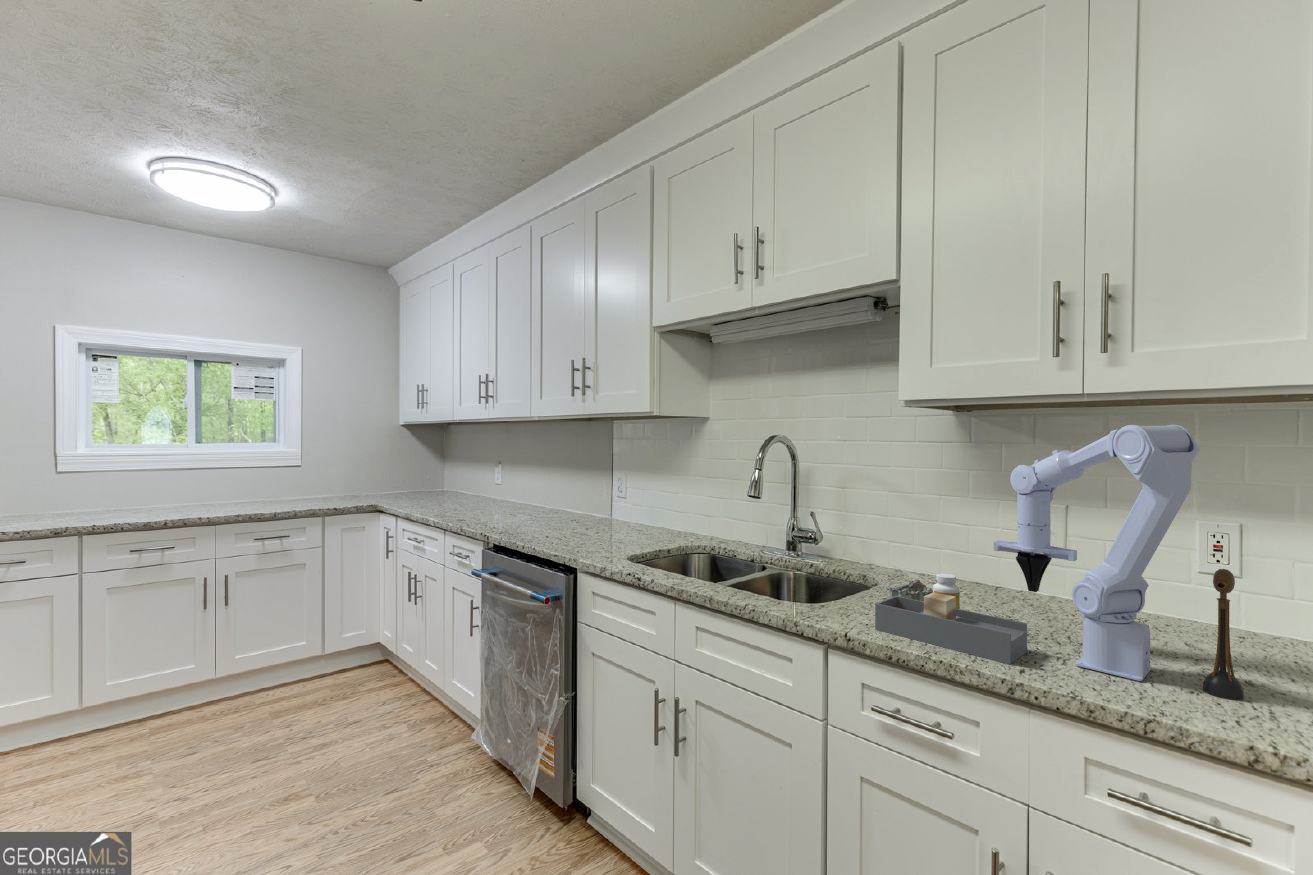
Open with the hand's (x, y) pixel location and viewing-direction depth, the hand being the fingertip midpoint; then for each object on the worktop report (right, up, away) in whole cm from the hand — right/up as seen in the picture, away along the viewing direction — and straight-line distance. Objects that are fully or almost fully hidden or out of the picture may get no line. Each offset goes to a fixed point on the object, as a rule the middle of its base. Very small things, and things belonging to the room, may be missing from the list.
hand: (1033, 590), depth 123 cm
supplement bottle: (-12, -10, +12) cm, 20 cm away
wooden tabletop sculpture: (+13, -10, -27) cm, 32 cm away
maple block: (-19, -6, -1) cm, 20 cm away
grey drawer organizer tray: (-18, -10, -2) cm, 21 cm away
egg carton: (-13, -10, +28) cm, 32 cm away
